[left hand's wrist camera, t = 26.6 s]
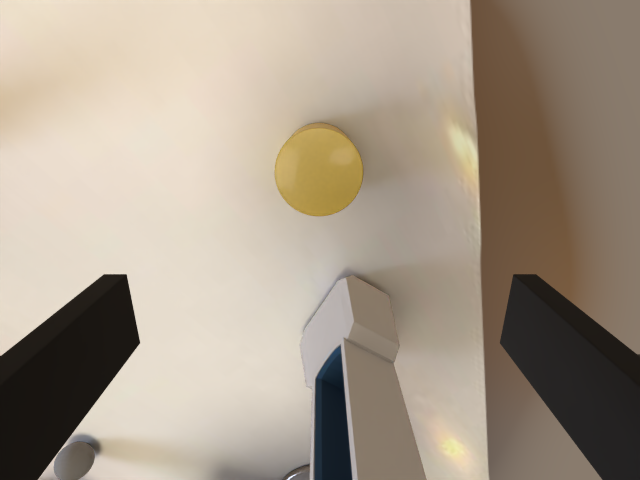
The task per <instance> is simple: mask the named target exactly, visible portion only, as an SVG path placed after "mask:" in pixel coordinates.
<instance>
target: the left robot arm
mask: <svg viewBox="0 0 640 480" xmlns="http://www.w3.org/2000/svg"><path fill="white" fill-rule="evenodd" d="M139 344H140V340H139V335H138V330H137V325H136V320H135V315H134V310H133V305H132V300H131V295H130V289H129V284H128V279H127V274H104V275H103V276H101V277H100V278H99V279H98V280H96V281H95V282H94V283H93V284H91V285H90V286H89V287H87V288H86V289H85V290H84V291H82V292H81V293H80V294H79V295H77V296H76V297H75V298H74V299H72V300H71V301H70V302H69V303H67V304H66V305H65V306H64V307H62V308H61V309H60V310H58V311H57V312H56V313H55V314H53V315H52V316H51V317H50V318H48V319H47V320H46V321H45V322H43V323H42V324H41V325H40V326H38V327H37V328H36V329H35V330H33V331H32V332H31V333H29V334H28V335H27V336H26V337H24V338H23V339H22V340H21V341H19V342H18V343H17V344H16V345H14V346H13V347H12V348H11V349H9V350H8V351H7V352H5V353H4V354H3V355H2V356H0V480H38V478H39V477H40V476H41V474H42V473H43V472H44V470H45V469H46V468H47V466H48V465H49V464H50V462H51V461H52V460H53V458H54V457H55V456H56V454H57V453H58V452H59V450H60V449H61V448H62V446H63V445H64V444H65V442H66V441H67V440H68V438H69V437H70V436H71V434H72V433H73V432H74V430H75V429H76V428H77V426H78V425H79V424H80V422H81V421H82V420H83V418H84V417H85V416H86V414H87V413H88V412H89V410H90V409H91V408H92V406H93V405H94V404H95V402H96V401H97V400H98V398H99V397H100V396H101V394H102V393H103V392H104V390H105V389H106V388H107V386H108V385H109V384H110V382H111V381H112V380H113V378H114V377H115V376H116V374H117V373H118V372H119V370H120V369H121V368H122V366H123V365H124V364H125V362H126V361H127V360H128V358H129V357H130V356H131V354H132V353H133V352H134V350H135V349H136V348H137V346H138V345H139ZM500 344H501V345H502V346H503V348H504V349H505V350H506V352H507V353H508V354H509V356H510V357H511V358H512V360H513V361H514V362H515V364H516V365H517V366H518V368H519V369H520V370H521V372H522V373H523V374H524V376H525V377H526V378H527V380H528V381H529V382H530V384H531V385H532V386H533V388H534V389H535V390H536V392H537V393H538V394H539V396H540V397H541V398H542V400H543V401H544V402H545V404H546V405H547V406H548V408H549V409H550V410H551V412H552V413H553V414H554V416H555V417H556V418H557V420H558V421H559V422H560V424H561V425H562V426H563V428H564V429H565V430H566V432H567V433H568V434H569V436H570V437H571V438H572V440H573V441H574V442H575V444H576V445H577V446H578V448H579V449H580V450H581V452H582V453H583V454H584V456H585V457H586V458H587V460H588V461H589V462H590V464H591V465H592V466H593V468H594V469H595V470H596V472H597V473H598V474H599V476H600V477H601V478H602V480H640V354H639V355H637V354H636V353H634V352H633V351H632V350H631V349H629V348H628V347H627V346H626V345H624V344H623V343H622V342H620V341H619V340H618V339H617V338H616V337H614V336H613V335H612V334H610V333H609V332H608V331H607V330H605V329H604V328H603V327H602V326H600V325H599V324H598V323H597V322H595V321H594V320H593V319H592V318H590V317H589V316H588V315H586V314H585V313H584V312H583V311H582V310H580V309H579V308H578V307H576V306H575V305H574V304H573V303H571V302H570V301H569V300H568V299H566V298H565V297H564V296H563V295H561V294H560V293H559V292H558V291H556V290H555V289H554V288H552V287H551V286H550V285H549V284H547V283H546V282H545V281H544V280H542V279H541V278H540V277H539V276H537V275H536V274H514V275H513V279H512V284H511V290H510V295H509V300H508V305H507V310H506V315H505V320H504V325H503V330H502V335H501V340H500ZM283 480H310V465H306V466H303V467H300V468H297V469H295V470H293V471H292V472H290V473H289V474H288V475H287V476H286V477H284V479H283Z"/></svg>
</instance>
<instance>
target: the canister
mask: <svg viewBox="0 0 640 480" xmlns="http://www.w3.org/2000/svg"><path fill="white" fill-rule="evenodd" d="M362 179H363V164H362V160H361V157H360V154H359V152H358V150H357V149H356V147H355V146H354V144H353V143H352V142H351V141H350V139H349V138H348V137H347V136H346V135H345V134H344V133H343V132H342V131H341V130H340V129H338V128H336V127H335V126H332V125H329V124H325V123H313V124H309V125H306V126H304V127H302V128H300V129H299V130H297V131H296V132H295V133H294V134H293V135H292V136H291V137H290V138H289V140H288V141H287V142H286V143H285V144H284V145H283V147H282V148H281V150H280V152H279V154H278V157H277V159H276V164H275V180H276V184H277V187H278V190H279V192H280V194H281V195H282V197H283V198H284V200H285V201H286V202H287V203H288V204H289V205H290V206H291V207H293V208H294V209H296V210H297V211H299V212H301V213H304V214H307V215H311V216H327V215H331V214H334V213H337V212H339V211H341V210H342V209H344V208H345V207H347V206H348V205H349V204H350V203H351V202H352V201H353V200H354V198H355V197H356V195H357V194H358V192H359V190H360V187H361V184H362Z"/></svg>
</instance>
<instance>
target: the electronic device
mask: <svg viewBox="0 0 640 480" xmlns="http://www.w3.org/2000/svg"><path fill="white" fill-rule="evenodd" d="M398 349H399V341H398V336H397V331H396V326H395V322H394V317H393V312H392V307H391V303H390V298H389V295H387V294H386V293H384V292H382V291H380V290H378V289H377V288H375V287H373V286H371V285H369V284H368V283H366V282H364V281H362V280H360V279H359V278H357V277H355V276H353V275H351V276H348V277H346V278H343V279H340V280H338V281H337V283H336V284H335V286H334V287H333V288H332V290H331V291H330V293H329V294H328V296H327V297H326V299H325V300H324V302H323V303H322V305H321V306H320V307H319V309H318V310H317V312H316V313H315V315H314V316H313V318H312V319H311V321H310V322H309V324H308V325H307V326H306V328H305V329H304V333H303V336H302V339H301V342H300V350H301V356H302V362H303V368H304V375H305V381H306V387H309V388H311V389H312V412H311V449H310V480H426V476H425V473H424V469H423V466H422V462H421V458H420V455H419V451H418V448H417V444H416V441H415V437H414V434H413V430H412V427H411V423H410V420H409V416H408V413H407V409H406V406H405V402H404V399H403V395H402V392H401V388H400V385H399V381H398V378H397V374H396V371H395V367H394V364H393V362H394V361H395V358H396V355H397V352H398Z"/></svg>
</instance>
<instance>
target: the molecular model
mask: <svg viewBox="0 0 640 480" xmlns="http://www.w3.org/2000/svg"><path fill="white" fill-rule="evenodd" d="M94 458H95V454H94V450H93V448H92V447H91V446H90V445H89V444H87V443H85V442H75V443H71V444H69V445H67V446H66V447H65V448H63V449H62V450H61V451H60V452H59V454H58V455H57V457H56V459H55V462H54V472H55V474H56V476H57V477H58V478H59V479H60V480H77V479H80V478H81V477H83V476H84V475H85V474H86V473H87V472H88V471H89V470H90V469H91V467H92V465H93V462H94Z"/></svg>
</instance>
